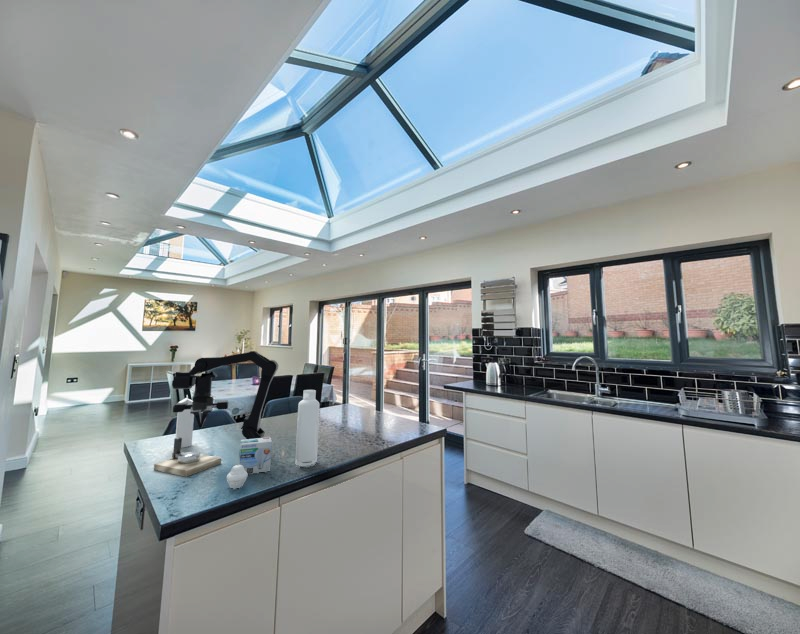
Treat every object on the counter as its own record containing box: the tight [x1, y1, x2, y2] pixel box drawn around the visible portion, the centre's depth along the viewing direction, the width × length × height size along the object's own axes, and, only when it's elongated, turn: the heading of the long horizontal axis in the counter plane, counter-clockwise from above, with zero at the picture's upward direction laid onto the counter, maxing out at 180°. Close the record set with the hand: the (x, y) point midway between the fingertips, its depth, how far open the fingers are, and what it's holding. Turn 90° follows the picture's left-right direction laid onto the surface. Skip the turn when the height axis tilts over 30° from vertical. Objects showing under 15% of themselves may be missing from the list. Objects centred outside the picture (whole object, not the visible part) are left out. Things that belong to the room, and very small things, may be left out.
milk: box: [174, 394, 195, 448], centre depth 146 cm, size 6×6×22 cm
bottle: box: [294, 389, 321, 466], centre depth 127 cm, size 8×8×28 cm
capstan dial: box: [171, 438, 201, 464], centre depth 122 cm, size 12×7×7 cm, turn 67°
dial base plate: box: [153, 453, 222, 478], centre depth 121 cm, size 17×14×2 cm
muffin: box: [225, 464, 248, 489], centre depth 105 cm, size 6×6×7 cm
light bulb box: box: [238, 436, 273, 475], centre depth 119 cm, size 11×7×11 cm, turn 117°
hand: (200, 428), depth 130 cm, fingers closed
